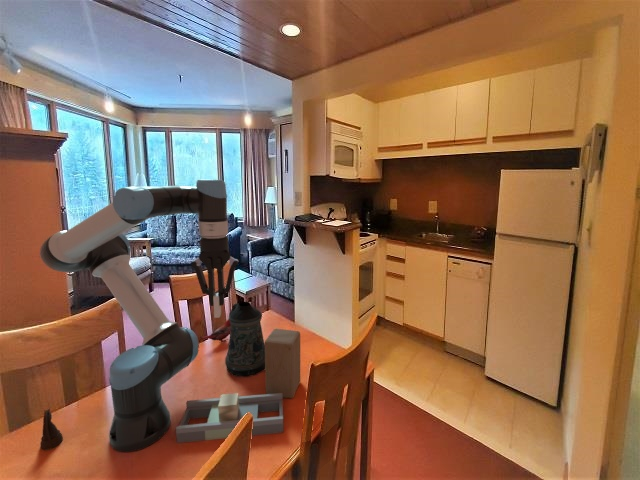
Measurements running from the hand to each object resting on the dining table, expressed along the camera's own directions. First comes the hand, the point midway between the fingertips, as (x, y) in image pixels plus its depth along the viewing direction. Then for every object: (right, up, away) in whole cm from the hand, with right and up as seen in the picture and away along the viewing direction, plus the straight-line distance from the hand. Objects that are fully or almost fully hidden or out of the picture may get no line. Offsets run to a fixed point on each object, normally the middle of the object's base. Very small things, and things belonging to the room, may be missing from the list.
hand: (217, 315), depth 90 cm
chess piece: (-43, -34, -6) cm, 55 cm away
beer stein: (0, -27, +32) cm, 42 cm away
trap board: (+4, -33, +2) cm, 33 cm away
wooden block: (+17, -30, +18) cm, 39 cm away
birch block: (+3, -30, +1) cm, 30 cm away
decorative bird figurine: (-15, -24, +47) cm, 54 cm away
